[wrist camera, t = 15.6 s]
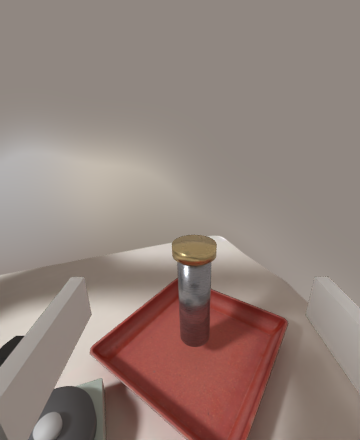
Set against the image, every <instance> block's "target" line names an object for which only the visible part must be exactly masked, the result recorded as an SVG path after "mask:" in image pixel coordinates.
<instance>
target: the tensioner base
mask: <svg viewBox="0 0 360 440" xmlns="http://www.w3.org/2000/svg"><path fill="white" fill-rule="evenodd" d="M28 440H106V421H105V390H104V385H103V380H102V378H100V379H97V380H94V381H91V382H88V383H85V384H82V385H79V386H76V387H74V386H65V387H60V388H56V389H53V391H52V393H51V395H50V397H49V399H48V401H47V403H46V405H45V407H44V409H43V411H42V413H41V415H40V417H39V419H38V421H37V423H36V425H35V426H34V428H33V430H32V432H31V434H30V436H29V438H28Z"/></svg>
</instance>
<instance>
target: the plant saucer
mask: <svg viewBox="0 0 360 440" xmlns="http://www.w3.org/2000/svg"><path fill="white" fill-rule="evenodd" d="M287 326H288V321H287V320H286V319H285V318H283V317H281V316H278V315H276V314H273V313H271V312H268V311H266V310H263V309H261V308H258V307H256V306H253V305H250V304H248V303H245V302H243V301H240V300H238V299H235V298H233V297H230V296H227V295H225V294H222V293H220V292H217V291H215V290H212V289H211V294H210V337H209V340H208V342H207V343H206V344H204V345H203V346H200V347H191V346H188V345H186V344H185V343H184V342H183V341H182V340H181V338H180V321H179V293H178V278H177V279H175V280H174V281H173V282H171V283H170V284H169V285H168V286H166V287H165V288H164V289H163V290H161V291H160V292H159V293H158V294H156V295H155V296H154V297H153V298H151V299H150V300H149V301H148V302H146V303H145V304H144V305H143V306H142V307H140V308H139V309H138V310H136V311H135V312H134V313H133V314H131V315H130V316H129V317H128V318H126V319H125V320H124V321H123V322H122V323H120V324H119V325H118V326H117V327H115V328H114V329H113V330H111V331H110V332H109V333H108V334H107V335H105V336H104V337H102V338H101V339H100V340H99V341H98V342H96V343H95V344H94V345H93V346H92V347H91V349H90V355H91V356H92V357H94V358H95V359H96V360H97V361H98V362H99V363H100V364H102V365H103V366H104V367H105V368H106V369H107V370H108V371H110V372H111V373H112V374H113V375H114V376H115V377H116V378H117V379H119V380H120V381H121V382H122V383H123V384H124V385H125V386H127V387H128V388H129V389H130V390H131V391H132V392H133V393H135V394H136V395H137V396H138V397H139V398H140V399H141V400H142V401H144V402H145V403H146V404H147V405H148V406H149V407H150V408H151V409H153V410H154V411H155V412H156V413H157V414H158V415H160V416H161V417H162V418H163V419H164V420H165V421H166V422H167V423H169V424H170V425H171V426H172V427H173V428H174V429H175V430H176V431H177V432H179V433H180V434H181V435H182V436H183V437H184V438H185V439H186V440H247V438H248V435H249V433H250V430H251V427H252V424H253V421H254V418H255V416H256V413H257V410H258V408H259V405H260V402H261V399H262V397H263V394H264V391H265V388H266V385H267V382H268V379H269V376H270V374H271V371H272V368H273V365H274V362H275V359H276V356H277V354H278V351H279V348H280V345H281V343H282V340H283V337H284V334H285V331H286V329H287Z"/></svg>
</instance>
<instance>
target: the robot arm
mask: <svg viewBox="0 0 360 440" xmlns="http://www.w3.org/2000/svg"><path fill="white" fill-rule="evenodd" d="M91 315H92V314H91V309H90V304H89V298H88V293H87V288H86V283H85V277H71V278H70V279H69V280H68V282H67V283H66V284H65V285H64V287H63V288H62V289H61V290H60V292H59V293H58V294H57V296H56V297H55V298H54V299H53V301H52V302H51V303H50V304H49V306H48V307H47V308H46V309H45V311H44V312H43V313H42V315H41V316H40V317H39V318H38V320H37V321H36V322H35V323H34V325H33V326H32V327H31V329H30V330H29V331H28V332H27V334H26V335H25V336H15V337H14V338H13V339H11V340H10V341H9V342H7V343H6V344H5V345H3V346H2V347H1V349H0V440H28V438H29V436H30V434H31V432H32V430H33V428H34V426H35V425H36V423H37V421H38V419H39V417H40V415H41V413H42V411H43V409H44V407H45V405H46V403H47V401H48V399H49V397H50V395H51V393H52V391H53V389H54V387H55V385H56V383H57V381H58V379H59V377H60V375H61V374H62V372H63V370H64V368H65V366H66V364H67V362H68V360H69V358H70V356H71V354H72V352H73V350H74V348H75V346H76V344H77V342H78V340H79V338H80V336H81V334H82V332H83V330H84V328H85V326H86V324H87V323H88V321H89V319H90V317H91ZM306 316H307V318H308V319H309V321H310V322H311V324H312V325H313V327H314V328H315V330H316V331H317V333H318V334H319V336H320V337H321V338H322V340H323V341H324V343H325V344H326V346H327V347H328V349H329V350H330V352H331V353H332V355H333V356H334V358H335V359H336V361H337V362H338V364H339V365H340V366H341V368H342V369H343V371H344V372H345V374H346V375H347V377H348V378H349V380H350V381H351V383H352V384H353V386H354V387H355V389H356V390H357V392H358V393H359V394H360V307H359V306H358V305H357V304H355V302H354V301H352V299H351V298H350V297H349V296H348V295H346V293H345V292H343V291H342V290H341V289H340V288H339V287H338V286H337V285H336V284H335V283H334V282H333V281H332V280H331V279H330V278H329V277H314V282H313V286H312V290H311V294H310V299H309V302H308V307H307V311H306Z"/></svg>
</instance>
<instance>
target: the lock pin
mask: <svg viewBox="0 0 360 440" xmlns="http://www.w3.org/2000/svg"><path fill="white" fill-rule="evenodd" d="M216 246H217V244H216V242H215V241H214V240H213V239H211V238H209V237H206V236H202V235H187V236H182V237H179V238H177V239H175V240H174V241H173V242H172V256H173V258H174V260H176V261H177V266H178V293H179V321H180V338H181V340H182V341H183V342H184V343H185V344H186V345H188V346H191V347H200V346H203V345H204V344H206V343H207V342H208V340H209V337H210V294H211V262H212V261H213V260H214V259H215V258H216Z"/></svg>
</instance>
